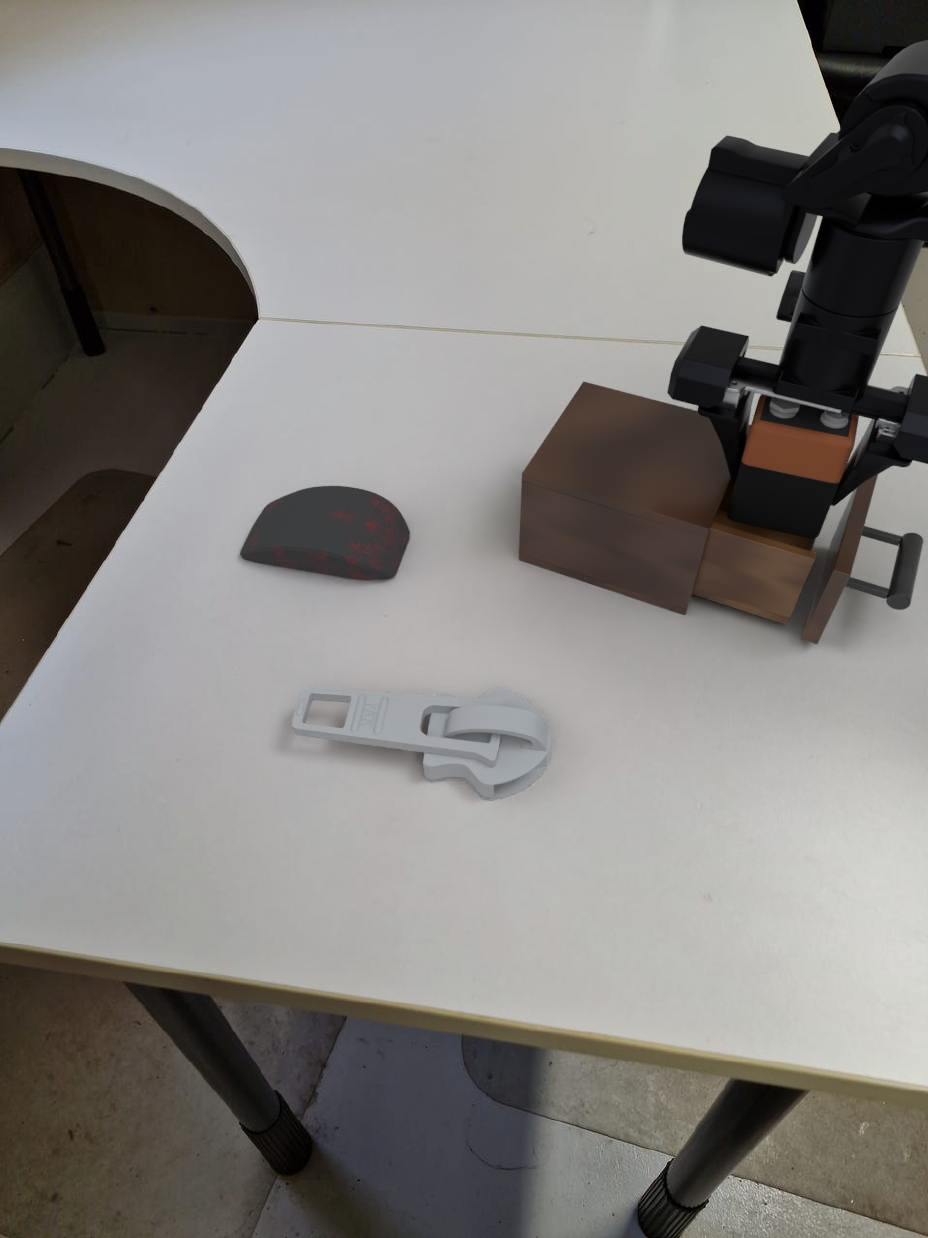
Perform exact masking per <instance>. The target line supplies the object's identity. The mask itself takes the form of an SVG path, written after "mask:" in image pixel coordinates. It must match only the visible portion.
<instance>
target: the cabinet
mask: <svg viewBox="0 0 928 1238" xmlns="http://www.w3.org/2000/svg"><path fill="white" fill-rule="evenodd" d="M750 427H751V424H749V427H748V433H747V438H748V435H749V431H750ZM746 442H747V440H746ZM731 480H732V478H731V477H730V473H729V469H728V466H727V462H726V458H725V455H724V451H723V448H722V445H721V442H720V440H719V438H718V435H717V433H716V431H715V429H714V427H713V425H712V423H711V421H710V419H709V418H707V417H704V416H701V415H700V414H699V413H698V410H696V409H691V408H687V407H684V406H680V405H677V404H673V403H667V402H665V401H660V400H657V399H653V398H649V397H645V396H641V395H637V394H635V393H629V392H626V391H622V390H618V389H615V388H611V387H607V386H603V385H599V384H595V383H591V382H588V381H582V383H581V384H580V386H579V388H578V389H577V391H576V392H575V393H574V395H573V396H572V398H571V399H570V401H569V402H568V404H567V405H566V407H565V408H564V410H563V411H562V413H561V414H560V416H559V417H558V419H557V421H556V422H555V423H554V425H553V426H552V428H551V430H550V431H549V432H548V434H547V435H546V436H545V438H544V440H543V441H542V442H541V444H540V446H539V447H538V449H537V450H536V452H535V453H534V454H533V456H532V457H531V459H530V461H529V462H528V463H527V465H526V466H525V468H524V470H523V471H522V472H521V487H520V488H521V489H520V513H519V515H520V516H519V535H518V536H519V537H518V560H519V561H521V562H524V563H528V564H531V565H534V566H537V567H539V568H542V569H545V570H548V571H551V572H555V573H558V574H560V575H564V576H566V577H569V578H572V579H574V580H575V579H576V580H577V581H581V582H585V583H588V584H590V585H593V586H596V587H599V588H603V589H605V590H609V591H612V592H615V593H617V594H621V595H624V596H626V597H630V598H633V599H635V600H639V601H641V602H644V603H648V604H651V605H653V606H657V607H659V608H662V609H666V610H668V611H671V612H673V613H674V612H675V613H677V614H680V615H683V616H686V614H687V613H688V610H689V607H690V606H691V602H692V600H693V598H694V596H695V595H693V594H692V593H693V589H694V586H695V582H696V578H697V575H698V571H699V568H700V564H701V561H702V557H703V553H704V550H705V546H706V543H707V539H708V535H709V532H710V529H711V527H712V524H713V522H714V520H715V517H716V515H717V513H718V510H719V508H720V506H721V504H722V501H723V499H724V497H725V494H726V492H727V490H728V487H729V485H730V483H731Z"/></svg>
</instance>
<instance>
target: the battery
mask: <svg viewBox="0 0 928 1238" xmlns="http://www.w3.org/2000/svg"><path fill="white" fill-rule="evenodd" d="M859 418H860V416H858V415H854V414H850V413H845V412H842V413H836V412H832V411H828V410H824V409H820V408H816V407H811V406H807V405H803V404H799V403H795V402H791V401H787V400H783V399H779V398H775V397H771V396H766V395H762V394H759V397H758V400H757V404H756V407H755V410H754V414H753V418H752V421H751V424H750V425H751V427H750V431H749V435H748V438H747V442H746V446H745V449H744V453H743V457H742V460H741V464H740V468H739V471H738V475H737V479H736V482H735V486H734V490H733V493H732V497H731V500H730V504H729V508H728V512H727V517H728V519H730V520H732V521H736V522H740V523H745V524H749V525H753V526H758V527H762V528H766V529H771V530H775V531H779V532H784V533H788V534H793V535H797V536H801V537H806V538H811V539H815V538H816V539H817V538H818V537H819V536H820V533H821V531H822V529H823V526H824V523H825V521H826V518H827V516H828V514H829V510H830V508H831V503H832V501H833V498H834V496H835V493H836V491H837V488H838V486H839V483H840V481H841V478H842V476H843V473H844V470H845V468H846V465H847V463H848V461H849V460H850V458H851V456H852V454H853V453H852V452H853V450H854V447H855V444H856V437H857V430H858V424H859ZM816 539H815V540H816Z"/></svg>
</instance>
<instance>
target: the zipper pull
mask: <svg viewBox="0 0 928 1238" xmlns="http://www.w3.org/2000/svg"><path fill="white" fill-rule="evenodd" d="M313 701H316V702H317V701H318V702H332V703H346V704H349V707H348V712H347V715H346V719H345V721H344V722H345V723H344V724H343V727H335V726H328V725H321V724H311V723H307V720H308V716H309V714H310V710H311V706H312V703H313ZM428 715H430V717H429V721H428V727H427V728H428V729H427V733H424V732H423V731H422V729H423V724H424V719H425V717H426V716H428ZM291 726H292V727H291V728H292V730H293V733H294V734H295V735H296V736H301V737H307V738H314V739H321V740H329V741H335V742H343V743H351V744H357V745H358V744H359V745H365V746H373V747H379V748H388V749H395V750H403V751H411V752H417V753H423V758H422V759H423V760H422V768H423V775H424V780H425V781H427V782H429V783H438V782H445V781H452V780H453V781H454V780H455V781H456V780H457V781H464V782H466V783H467V784H469V785H470V787H471V788H472V789H473V791H474V792H475V793H476V794H477V795H478V797H480V798H481V799H483V800H484V801H495V800H500V799H505V798H508V797H512V796H514V795H516V794H519V793H520V792H522V791H524V790H526V789H527V788H529V787H530V786H532V785H534V783H535V782H536V781H538V779H540V778H541V776H542V775H543V774H544V772H545V771H546V770H547V768H548V767H549V764H550V762H551V759H552V758H551V757H552V751H551V748H552V745H553V740H554V739H553V732H552V729H551V725H550V724H549V722H548V720H547V719H546V717H545V716H544V714H543V713H542V712H541V711H540V710H539V708H538V707H537V706H536V705H535V704H533V703H532V702H531V701H529V699H527V698H525V697H523V696H522V695H520V694H519V693H517V692H514V691H512V690H510V689H508V688H505V687H494V688H492V689H490V690H488V691H487V692H486V693H484V694H483V695H481V696H479V697H478V698H477V697H476V698H474V697H461V696H455V695H452V694H449V693H448V692H443V691H442V692H441V691H440V692H437V693H435V695H433V694H432V695H431V694H415V693H401V692H400V693H399V692H385V691H371V690H358V689H357V690H356V689H343V688H327V687H326V688H325V687H312V686H307V687H304V688H302V689H301V691H300V693H299V697H298V700H297V703H296V706H295V709H294V713H293V716H292V719H291Z"/></svg>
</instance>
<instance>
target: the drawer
mask: <svg viewBox="0 0 928 1238" xmlns="http://www.w3.org/2000/svg"><path fill="white" fill-rule="evenodd" d="M878 476H879V474H877V475H876V476H874V477H872V478H871V479H869V480H867V481H866V482H864V483H863V484H861V485H860V486H859V487H858V488H856V489H855V490H854V491H853V492H851V493H850V497H849V499H848V502H847V503H846V506H845V508H844V511H843V513H842V515H841V516H840V517H841V518H840V519H839V522H838V525H837V526H836V529H835V531H834V533H833V536H832V537H831V541H830V544H829V547H828V551H827V553H826V557H825V561H824V563H823V567H822V570H821V574H820V577H819V581H818V583H817V587H816V590H815V594H814V596H813V601H812V603H811V607H810V610H809V613H808V617H807V620H806V623H805V626H804V629H803V632H802V637H801V640H802V641H804V642H805V641H806V642H808V643H812V644H814V645H818V644H819V642H820V640H821V638H822V636H823V634H824V632H825V630H826V627H827V626H828V623H829V621H830V619H831V617H832V615H833V612H834V611H835V609H836V607H837V604H838V602H839V600H840V598H841V596H842V595H843V592H844V590H845V588H848V589H851V590H855V591H857V592H860V593H864V594H867V595H870V596H874V597H877V598H881V599H884V600H885V602H886V604H887V606H888V607H890V608H891V609H893V610H897V611H903V610H906V609H908V608H910V606H911V603H912V599H913V594H914V588H915V585H916V580H917V575H918V571H919V565H920V561H921V555H922V551H923V545H924V538H923V537H922V535H920V534H919V533H917V532H906V533H904V534H903V535H898V534H895V533H892V532H888V531H885V530H881V529H877V528H874V527H870V526H867V525H865V524H866V521H867V517H868V513H869V510H870V507H871V502H872V498H873V495H874V492H875V487H876V484H877V480H878ZM736 479H737V478H736ZM736 479H734V478H732V480H731V483H730V485H729V487H728V490H727V492H726V494H725V497H724V499H723V501H722V504H721V506H720V508H719V510H718V513H717V515H716V517H715V520H714V522H713V524H712V527H711V529H710V532H709V535H708V539H707V543H706V546H705V550H704V553H703V557H702V561H701V564H700V568H699V571H698V575H697V578H696V582H695V586H694V589H693V593H692V594H693V595H694V596H697V597H700V598H703V599H705V600H708V601H711V602H715V603H719V604H722V605H724V606H727V607H731V608H734V609H736V610H740V611H743V612H746V613H749V614H752V615H754V616H755V615H756V616H759V617H762V618H765V619H768V620H769V621H770V620H771V621H772V622H773V621H774V622H776V623H780V624H782V625H786V626H787V625H788V624H789V622H790V620H791V617H792V615H793V613H794V610H795V608H796V606H797V603H798V601H799V599H800V597H801V594H802V592H803V589H804V588H805V585H806V583H807V581H808V577H809V576H810V572H811V571H812V569H813V566H814V564H815V562H816V558H817V555H818V553H817V552H815V551H813V549H814V545H815V542H816V539H817V538H815V539H811V538H806V537H801V536H797V535H793V534H788V533H784V532H779V531H775V530H771V529H766V528H762V527H758V526H753V525H749V524H745V523H740V522H736V521H732V520H730V519H728V517H727V512H728V508H729V504H730V500H731V497H732V493H733V490H734V486H735V482H736ZM862 537H865V538H868V539H872V540H875V541H879V542H883V543H885V544H889V545H893V546H897V547H898V548H897V552H896V556H895V560H894V564H893V570H892V573H891V578H890V582H889V586H888V587H885V586H882V585H878V584H876V583H871V582H868V581H865V580H862V579H858V578H855V577H851V575H852V573H853V569H854V565H855V561H856V557H857V553H858V550H859V547H860V543H861V538H862Z"/></svg>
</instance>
